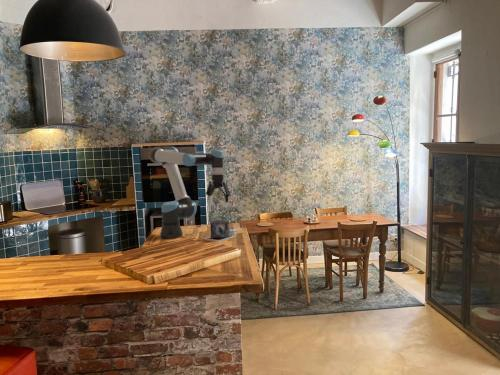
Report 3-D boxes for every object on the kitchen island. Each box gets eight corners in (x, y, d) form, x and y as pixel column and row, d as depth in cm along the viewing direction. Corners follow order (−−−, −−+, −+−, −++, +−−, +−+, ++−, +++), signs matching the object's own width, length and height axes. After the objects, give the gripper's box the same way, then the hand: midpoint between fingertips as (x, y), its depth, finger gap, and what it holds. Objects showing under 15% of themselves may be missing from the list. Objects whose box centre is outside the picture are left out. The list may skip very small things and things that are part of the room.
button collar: (215, 233, 285) (215, 228, 284) (224, 231, 292) (224, 226, 291) (225, 235, 279) (225, 229, 279) (234, 233, 286) (234, 227, 285)
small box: (210, 238, 269) (209, 222, 268) (214, 236, 275) (213, 220, 274) (225, 238, 266) (224, 222, 265) (228, 236, 272) (228, 221, 271)
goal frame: (203, 239, 269) (203, 238, 269) (220, 234, 281) (220, 234, 281) (218, 241, 260) (218, 241, 260) (235, 237, 273) (235, 236, 273)
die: (228, 236, 277) (228, 230, 277) (231, 234, 281) (231, 228, 280) (234, 236, 275) (234, 230, 275) (236, 235, 279) (236, 229, 279)
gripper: (200, 173, 272) (201, 205, 274) (227, 175, 256) (228, 208, 258) (208, 173, 278) (209, 204, 280) (235, 174, 262) (236, 207, 264)
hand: (218, 206), depth 269 cm, fingers open, 13 cm apart
